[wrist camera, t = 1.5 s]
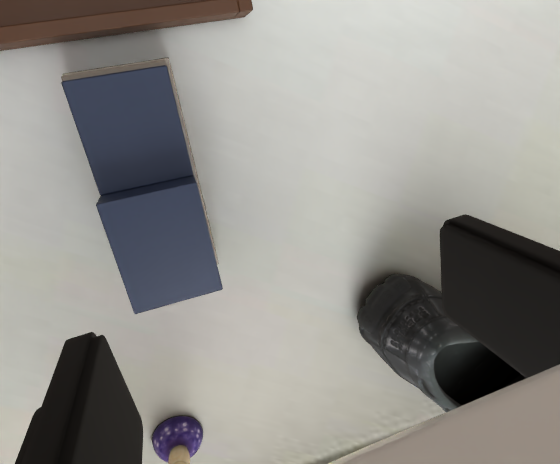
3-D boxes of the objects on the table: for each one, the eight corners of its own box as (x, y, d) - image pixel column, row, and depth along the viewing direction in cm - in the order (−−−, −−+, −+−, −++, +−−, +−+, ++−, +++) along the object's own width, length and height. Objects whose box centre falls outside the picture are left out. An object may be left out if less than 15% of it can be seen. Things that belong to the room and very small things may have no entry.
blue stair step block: (135, 279, 29) (131, 320, 23) (66, 74, 23) (41, 70, 18) (216, 258, 30) (228, 292, 25) (168, 58, 24) (170, 50, 19)
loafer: (502, 423, 47) (586, 504, 38) (317, 347, 35) (373, 437, 26) (555, 355, 46) (656, 421, 36) (381, 251, 34) (465, 311, 25)
